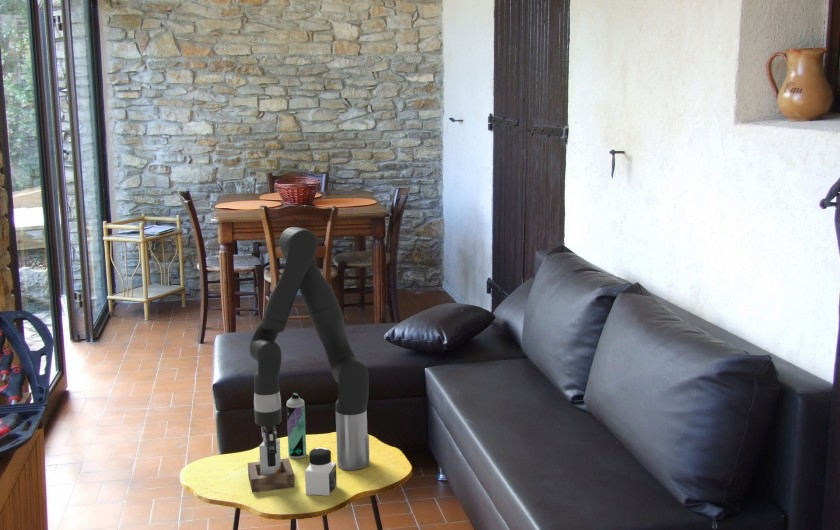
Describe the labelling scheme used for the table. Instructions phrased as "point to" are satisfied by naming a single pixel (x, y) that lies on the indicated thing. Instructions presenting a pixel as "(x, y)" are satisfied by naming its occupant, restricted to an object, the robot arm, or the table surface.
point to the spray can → (296, 427)
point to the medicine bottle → (320, 473)
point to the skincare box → (264, 462)
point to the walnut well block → (271, 477)
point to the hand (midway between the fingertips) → (270, 460)
